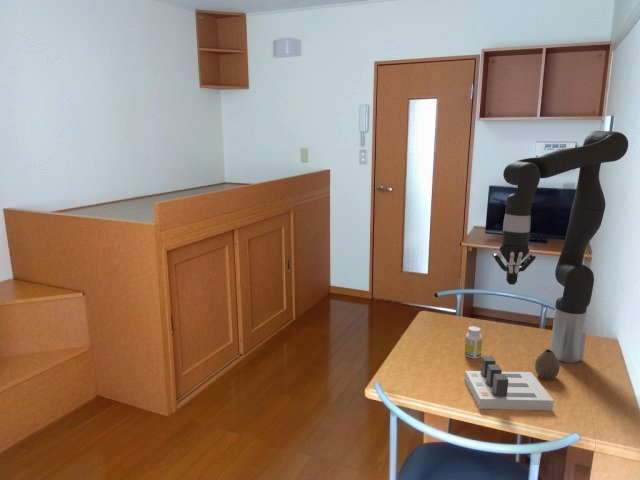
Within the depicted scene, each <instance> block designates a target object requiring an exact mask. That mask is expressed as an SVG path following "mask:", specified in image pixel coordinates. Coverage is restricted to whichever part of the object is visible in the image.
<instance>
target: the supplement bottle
mask: <svg viewBox="0 0 640 480" xmlns="http://www.w3.org/2000/svg"><path fill="white" fill-rule="evenodd" d="M481 332H482V331H481V327H478V326H472V325H471V326H469V327H468V330H467V333H466V335H465V343H464V355H465V356H466V357H467V358H470V359H479V358H482V345H483V336H482V334H481Z"/></svg>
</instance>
